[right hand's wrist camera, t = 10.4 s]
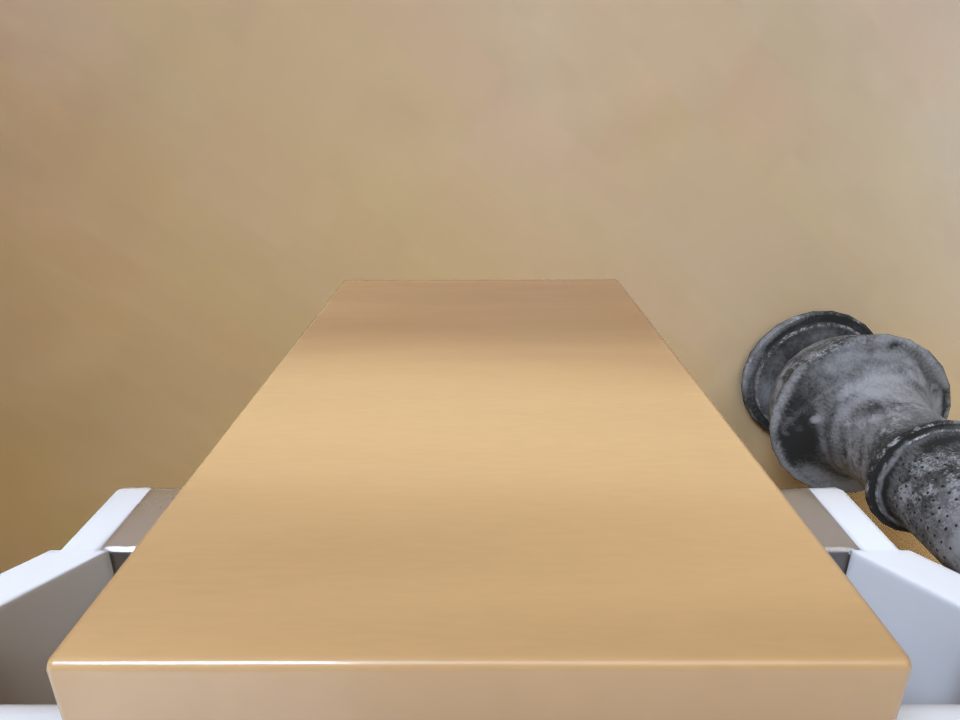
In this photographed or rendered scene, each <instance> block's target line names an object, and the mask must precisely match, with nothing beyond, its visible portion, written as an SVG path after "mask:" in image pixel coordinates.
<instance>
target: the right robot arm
mask: <svg viewBox="0 0 960 720" xmlns="http://www.w3.org/2000/svg"><path fill="white" fill-rule="evenodd" d="M181 489H182V488H156V489H155V488H123V489H119V490H117V491H116V492H115V493H114V494H113V495H112V496H111V497H110V498H109V499H108V501H107V502H106V503H105V504H104V505H103V506H102V507H101V508H100V509H99V510H98V511H97V512H96V513H95V514H94V515H93V517H92V518H91V519H90V520H89V521H88V522H87V523H86V524H85V525H84V526H83V527H82V528H81V529H80V530H79V531H78V533H77V534H76V535H75V536H74V537H73V538H72V539H71V540H70V541H69V542H68V543H67V544H66V545H65V546H64V547H63V549H62V550H50V551H48V552H46V553H43V554H41V555H39V556H37V557H35V558H33V559H31V560H28V561H26V562H24V563H22V564H20V565H18V566H16V567H14V568H11V569H9V570H7V571H5V572H3V573H1V574H0V720H62V718H61V715H60V711H59V708H58V705H57V702H56V699H55V696H54V693H53V689H52V686H51V683H50V680H49V677H48V674H47V671H46V669H47V663H48V660H49V658H50V657H51V655H52V654H53V653H54V651H55V650H56V649H57V648H58V646H59V645H60V644H61V642H62V641H63V640H64V639H65V637H66V636H67V635H68V633H69V632H70V631H71V630H72V628H73V627H74V626H75V625H76V623H77V622H78V621H79V619H80V618H81V617H82V616H83V614H84V613H85V612H86V610H87V609H88V608H89V607H90V605H91V604H92V603H93V601H94V600H95V599H96V598H97V596H98V595H99V594H100V593H101V591H102V590H103V589H104V587H105V586H106V585H107V584H108V582H109V581H110V580H111V578H112V577H113V576H114V575H115V573H116V572H117V571H118V569H119V568H120V567H121V566H122V564H123V563H124V562H125V561H126V559H127V558H128V557H129V555H130V554H131V553H132V552H133V550H134V549H135V548H136V546H137V545H138V544H139V543H140V541H141V540H142V539H143V537H144V536H145V535H146V534H147V532H148V531H149V530H150V529H151V527H152V526H153V525H154V523H155V522H156V521H157V520H158V518H159V517H160V516H161V514H162V513H163V512H164V511H165V509H166V508H167V507H168V505H169V504H170V503H171V502H172V500H173V499H174V498H175V497H176V495H177V494H178V493H179V491H180V490H181ZM779 490H780V491H781V492H782V493H783V495H784V496H785V497H786V499H787V500H788V501H789V503H790V504H791V505H792V506H793V508H794V509H795V510H796V512H797V513H798V514H799V515H800V517H801V518H802V519H803V521H804V522H805V523H806V525H807V526H808V527H809V528H810V530H811V531H812V532H813V534H814V535H815V536H816V537H817V539H818V540H819V541H820V543H821V544H822V545H823V546H824V548H825V549H826V550H827V552H828V553H829V554H830V556H831V557H832V558H833V559H834V561H835V562H836V563H837V565H838V566H839V567H840V568H841V570H842V571H843V572H844V574H845V575H846V576H847V578H848V579H849V580H850V581H851V583H852V584H853V585H854V587H855V588H856V589H857V590H858V592H859V593H860V594H861V596H862V597H863V598H864V600H865V601H866V602H867V603H868V605H869V606H870V607H871V609H872V610H873V611H874V612H875V614H876V615H877V616H878V618H879V619H880V620H881V621H882V623H883V624H884V625H885V627H886V628H887V629H888V631H889V632H890V633H891V634H892V636H893V637H894V638H895V640H896V641H897V642H898V643H899V645H900V646H901V647H902V649H903V650H904V651H905V653H906V654H907V655H908V656H909V659H910V661H911V666H912V670H911V674H910V677H909V680H908V684H907V687H906V690H905V693H904V697H903V700H902V703H901V706H900V710H899V713H898V716H897V719H896V720H960V574H959V573H957V572H955V571H953V570H951V569H948V568H946V567H944V566H942V565H940V564H938V563H936V562H934V561H931V560H929V559H927V558H925V557H923V556H921V555H919V554H917V553H914V552H912V551H910V550H898V549H897V547H896V546H895V545H894V544H893V543H892V542H891V541H890V540H889V539H888V538H887V537H886V536H885V535H884V534H883V533H882V531H881V530H880V529H879V528H878V527H877V526H876V525H875V524H874V523H873V522H872V521H871V520H870V519H869V518H868V516H867V515H866V514H865V513H864V512H863V511H862V510H861V509H860V508H859V507H858V506H857V505H856V504H855V503H854V502H853V500H852V499H851V498H850V497H849V496H848V495H847V494H846V493H845V492H844V491H843V490H841V489H838V488H836V487H828V488H803V489H779Z"/></svg>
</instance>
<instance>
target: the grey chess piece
mask: <svg viewBox="0 0 960 720" xmlns="http://www.w3.org/2000/svg"><path fill="white" fill-rule="evenodd" d="M741 388H742V394H743V400H744V403H745V405H746V407H747V409H748V411H749V413H750V415H751V416H752V417H753V418H754V419H755V420H756V421H757V422H758V423H759V424H760V425H761V426H762V427H763V428H765V429H766V430H768V431H770V438H771V444H772V448H773V450H774V452H775V454H776V456H777V458H778V460H779V462H780V464H781V465H782V466H783V467H784V468H785V469H786V470H787V471H788V472H789V473H790V474H791V475H792V476H793V477H794V478H795V479H796V480H798V481H800V482H802V483H804V484H806V485H808V486H810V487H811V488H828V487H836V488H838V489H841V490H843V491H844V492H845V493H846V492H859V491H863V490H865V495H866V501H867V503H868V506H869V508H870V510H871V512H872V513H873V514H874V515H875V516H876V517H877V518H878V519H879V520H880V521H881V522H882V523H883V524H885V525H887V526H889V527H891V528H893V529H895V530H899V531H904V532H909V533H912V534H913V535H914V536H915V537H916V538H917V539H918V540H919V541H920V542H921V543H922V544H923V545H924V546H925V547H926V548H927V549H928V550H929V551H930V552H931V553H932V554H933V555H934V556H935V557H936V559H937V560H938V561H939V562H940V563H941V564H942V565H943V566H944V567H946V568H948V569H951V570H953V571H955V572H957V573H959V574H960V421H956V420H947V418H948V414H949V410H950V406H951V402H950V384H949V382H948V379H947V377H946V374H945V371H944V369H943V366H942V365H941V364H940V363H939V362H938V361H937V359H936V358H935V357H934V356H933V355H932V354H931V352H930V351H928V350H926V349H925V348H923V347H921V346H920V345H918V344H916V343H915V342H913V341H911V340H909V339H905V338H901V337H897V336H893V335H889V334H873V333H872V332H871V331H870V330H869V329H868V327H867V326H866V325H865V324H863V323H861V322H860V321H858V320H856V319H854V318H853V317H851V316H849V315H846V314H842V313H838V312H834V311H812V312H809V313H805V314H801V315H797V316H794V317H792V318H790V319H788V320H786V321H784V322H782V323H780V324H778V325H777V326H775V327H774V328H773V329H772V330H771V331H769V332H768V333H767V334H766V335H765V336H763V337H762V338H761V340H760V341H759V342H758V344H757V345H756V346H755V348H754V349H753V350H752V352H751V353H750V355H749V357H748V360H747V362H746V365H745V367H744V369H743V376H742V384H741Z"/></svg>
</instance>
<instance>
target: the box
mask: <svg viewBox="0 0 960 720" xmlns="http://www.w3.org/2000/svg"><path fill="white" fill-rule="evenodd" d="M911 670H912V666H911V661H910V659H909V656H908V655H907V654H906V653H905V651H904V650H903V649H902V647H901V646H900V645H899V643H898V642H897V641H896V640H895V638H894V637H893V636H892V634H891V633H890V632H889V631H888V629H887V628H886V627H885V625H884V624H883V623H882V621H881V620H880V619H879V618H878V616H877V615H876V614H875V612H874V611H873V610H872V609H871V607H870V606H869V605H868V603H867V602H866V601H865V600H864V598H863V597H862V596H861V594H860V593H859V592H858V590H857V589H856V588H855V587H854V585H853V584H852V583H851V581H850V580H849V579H848V578H847V576H846V575H845V574H844V572H843V571H842V570H841V568H840V567H839V566H838V565H837V563H836V562H835V561H834V559H833V558H832V557H831V556H830V554H829V553H828V552H827V550H826V549H825V548H824V546H823V545H822V544H821V543H820V541H819V540H818V539H817V537H816V536H815V535H814V534H813V532H812V531H811V530H810V528H809V527H808V526H807V525H806V523H805V522H804V521H803V519H802V518H801V517H800V515H799V514H798V513H797V512H796V510H795V509H794V508H793V506H792V505H791V504H790V503H789V501H788V500H787V499H786V497H785V496H784V495H783V493H782V492H781V491H780V490H779V488H778V487H777V486H776V484H775V483H774V482H773V481H772V479H771V478H770V477H769V475H768V474H767V473H766V471H765V470H764V469H763V468H762V466H761V465H760V464H759V462H758V461H757V460H756V459H755V457H754V456H753V455H752V453H751V452H750V451H749V450H748V448H747V447H746V446H745V444H744V443H743V442H742V440H741V439H740V438H739V437H738V435H737V434H736V433H735V431H734V430H733V429H732V428H731V426H730V425H729V424H728V422H727V421H726V420H725V418H724V417H723V416H722V415H721V413H720V412H719V411H718V409H717V408H716V407H715V406H714V404H713V403H712V402H711V400H710V399H709V398H708V396H707V395H706V394H705V393H704V391H703V390H702V389H701V387H700V386H699V385H698V384H697V382H696V381H695V380H694V378H693V377H692V376H691V375H690V373H689V372H688V371H687V369H686V368H685V367H684V365H683V364H682V363H681V362H680V360H679V359H678V358H677V356H676V355H675V354H674V353H673V351H672V350H671V349H670V347H669V346H668V345H667V343H666V342H665V341H664V340H663V338H662V337H661V336H660V334H659V333H658V332H657V331H656V329H655V328H654V327H653V325H652V324H651V323H650V321H649V320H648V319H647V318H646V316H645V315H644V314H643V312H642V311H641V310H640V309H639V307H638V306H637V305H636V303H635V302H634V301H633V300H632V298H631V297H630V296H629V294H628V293H627V292H626V290H625V289H624V288H623V287H622V285H621V284H620V283H619V281H618V280H366V281H344V282H343V283H342V284H341V285H340V287H339V288H338V289H337V290H336V292H335V293H334V294H333V296H332V297H331V298H330V299H329V301H328V302H327V303H326V305H325V306H324V307H323V308H322V310H321V311H320V312H319V313H318V315H317V316H316V317H315V319H314V320H313V321H312V322H311V324H310V325H309V326H308V328H307V329H306V330H305V331H304V333H303V334H302V335H301V337H300V338H299V339H298V340H297V342H296V343H295V344H294V345H293V347H292V348H291V349H290V351H289V352H288V353H287V354H286V356H285V357H284V358H283V360H282V361H281V362H280V363H279V365H278V366H277V367H276V369H275V370H274V371H273V372H272V374H271V375H270V376H269V377H268V379H267V380H266V381H265V383H264V384H263V385H262V386H261V388H260V389H259V390H258V392H257V393H256V394H255V395H254V397H253V398H252V399H251V401H250V402H249V403H248V404H247V406H246V407H245V408H244V409H243V411H242V412H241V413H240V415H239V416H238V417H237V418H236V420H235V421H234V422H233V424H232V425H231V426H230V427H229V429H228V430H227V431H226V433H225V434H224V435H223V436H222V438H221V439H220V440H219V441H218V443H217V444H216V445H215V447H214V448H213V449H212V450H211V452H210V453H209V454H208V456H207V457H206V458H205V459H204V461H203V462H202V463H201V465H200V466H199V467H198V468H197V470H196V471H195V472H194V473H193V475H192V476H191V477H190V479H189V480H188V481H187V482H186V484H185V485H184V486H183V488H182V489H181V490H180V491H179V493H178V494H177V495H176V497H175V498H174V499H173V500H172V502H171V503H170V504H169V505H168V507H167V508H166V509H165V511H164V512H163V513H162V514H161V516H160V517H159V518H158V520H157V521H156V522H155V523H154V525H153V526H152V527H151V529H150V530H149V531H148V532H147V534H146V535H145V536H144V537H143V539H142V540H141V541H140V543H139V544H138V545H137V546H136V548H135V549H134V550H133V552H132V553H131V554H130V555H129V557H128V558H127V559H126V561H125V562H124V563H123V564H122V566H121V567H120V568H119V569H118V571H117V572H116V573H115V575H114V576H113V577H112V578H111V580H110V581H109V582H108V584H107V585H106V586H105V587H104V589H103V590H102V591H101V593H100V594H99V595H98V596H97V598H96V599H95V600H94V601H93V603H92V604H91V605H90V607H89V608H88V609H87V610H86V612H85V613H84V614H83V616H82V617H81V618H80V619H79V621H78V622H77V623H76V625H75V626H74V627H73V628H72V630H71V631H70V632H69V633H68V635H67V636H66V637H65V639H64V640H63V641H62V642H61V644H60V645H59V646H58V648H57V649H56V650H55V651H54V653H53V654H52V655H51V657H50V658H49V660H48V663H47V669H46V671H47V674H48V677H49V680H50V683H51V686H52V689H53V693H54V696H55V699H56V702H57V705H58V708H59V711H60V715H61V718H62V720H896V719H897V716H898V713H899V710H900V706H901V703H902V700H903V697H904V693H905V690H906V687H907V684H908V680H909V677H910V674H911Z"/></svg>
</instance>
